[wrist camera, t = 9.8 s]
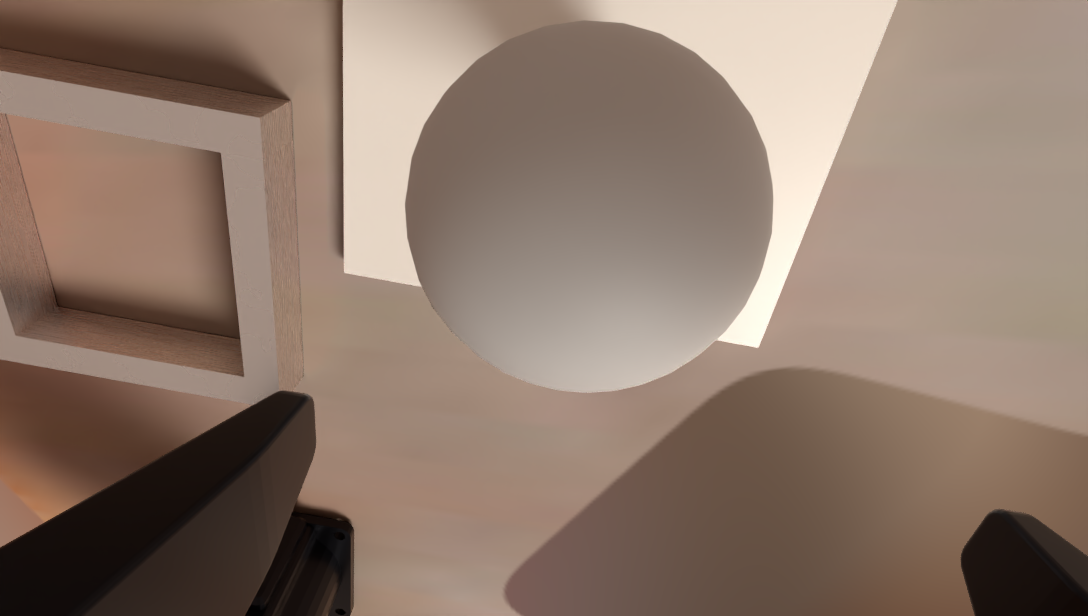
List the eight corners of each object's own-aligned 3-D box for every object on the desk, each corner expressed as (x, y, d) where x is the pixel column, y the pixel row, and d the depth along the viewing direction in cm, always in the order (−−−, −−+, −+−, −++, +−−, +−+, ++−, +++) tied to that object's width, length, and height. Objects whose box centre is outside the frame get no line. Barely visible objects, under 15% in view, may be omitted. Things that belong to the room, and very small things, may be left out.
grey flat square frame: (303, 376, 25) (280, 409, 23) (33, 327, 25) (-10, 357, 23) (290, 100, 19) (259, 117, 18) (-54, 38, 19) (-119, 48, 18)
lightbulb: (687, -55, 16) (816, 2, 6) (714, 179, 19) (829, 446, 10) (452, 9, 17) (273, 134, 8) (513, 219, 20) (440, 493, 11)
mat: (754, 337, 22) (758, 347, 22) (350, 264, 22) (343, 272, 21) (951, -162, 15) (964, -166, 14) (351, -273, 15) (341, -281, 14)
